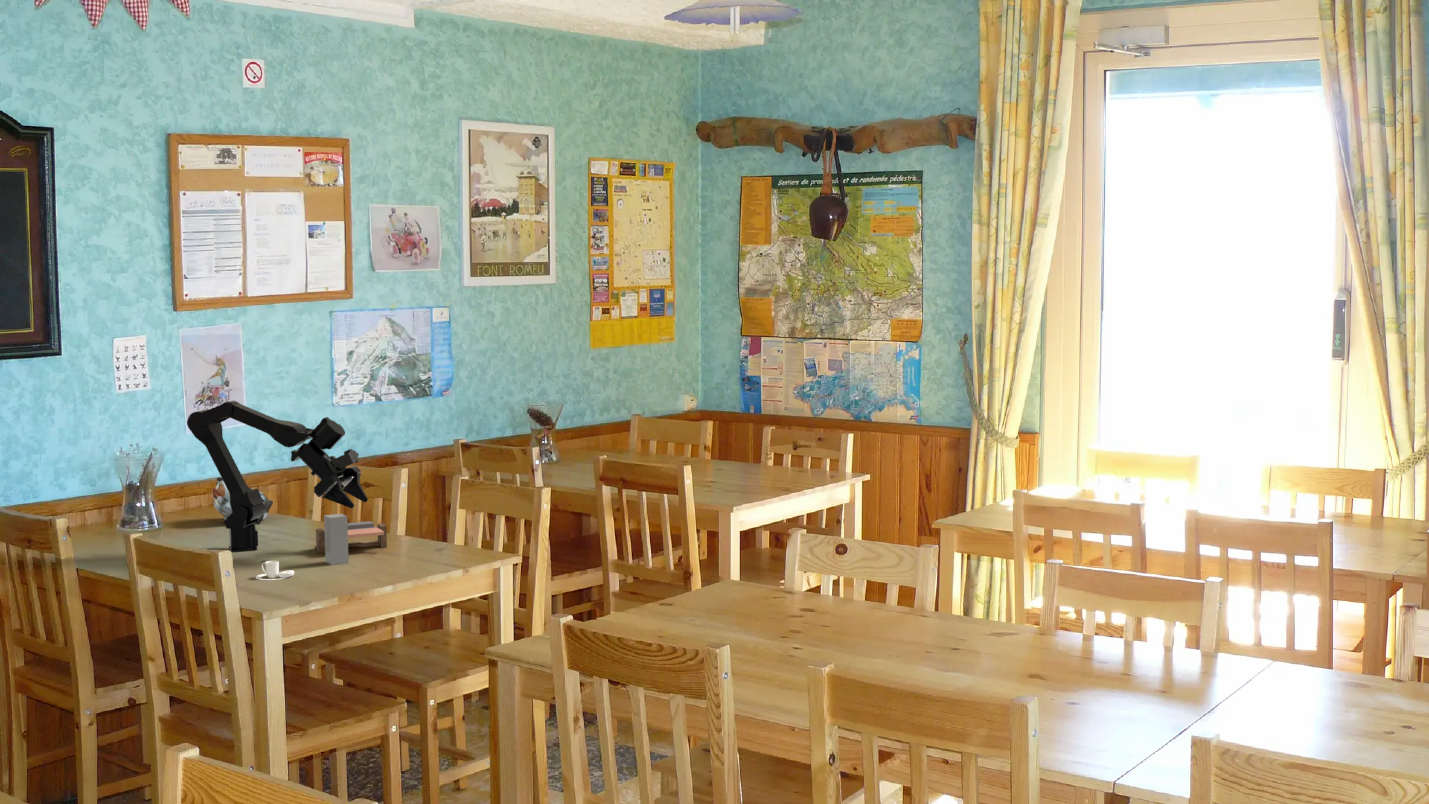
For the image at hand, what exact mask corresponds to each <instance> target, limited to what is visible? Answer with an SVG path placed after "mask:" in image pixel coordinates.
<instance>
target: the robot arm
mask: <svg viewBox="0 0 1429 804" xmlns="http://www.w3.org/2000/svg"><path fill="white" fill-rule="evenodd" d="M228 419H229V420H230V419H232V420H235V421H237V422H239V423H241V424H244V425H246V426H248V427H252V428H254V429H256V430H257V431H258V430H259V431H261V432H263V433H265V434H267V435H269V436H270V437H271V438H272V439H273V440H274V441H275V442H277V443H278V444H280V445H282V446H283V447H285V448H293V447H296V446H299V447H298V448H297V449H294V450H291V452H290V453H291V457H290V461H291V462H295V461H299V460H301V461H302V462H303V463H304V464H305V466H307V467H308V468H309V469H310V471H311V472H310V474H311V475H312V476H313V477H314V476H317V477H318V478H319V481H318V483H317V484H316V485H315V486H314V487H313V493H314V494H315V495H316V496H317V497H318V498H322V499H325V500H328V501H331V502H332V503H333V502H334V503H337V504H340V505H342V506H344V507H346V508H349V509H353V508H354V507H355V504H354V502H353V501H352V500H351V498H350V497H349V496H348V495H350V496H352V497H354V498H355V499H357V500H359V501H361V502H362V503H367V502H368V501H369V499H368V496H367V495H366V493H365V490H364V489H363V487H362V484H361V482H360V480H361V476H362V474H361V473H362V470H361V469H360V468H359V467H358V466H355V465H354V464H357V463H358V462H360V459H359V455H360V454H359V453H358V452H357V451H356V450H353V448H349V449H347V450H344V451H343V455H340V456H338V457H336V456H335V455H328V453H327V452H326V451H325V450H331V449H332V448H334V446H335V445H336V444H337V443H339V442H340V440H341V439H342V438H343V437H344V436H345V435H346V431H345V429H344V427H343V426H342V425H341V424H340V423H337V422H336V421H335V420H332V419H331V418H329V417H328V416H325V417H322V419H321V420H320V421H319V423H318V425H316V426H315V428H307V426H305V425H304V424H302V423H299V422H295V421H289V420H284V419H283V420H282V419H278V418H274V417H273V416H269V415H268V414H265V413H263V412H260V411H258V410H255V409H254V408H251V407H248V406H246V405H244V404H242V403H240V402H238V401H236V400H230V401H229V400H228V401H224V402H223V403H222V404H219V405H217V406H214V407H212V408H209V409H203V410H198V411H194V412H192V413H190V414H189V416H188V418H187V420H186V424H187V428H188V429H189V431H190V432H191V433H192V435H193V437H195V439H196V440H198V441H199V442H200V443H202V444H203V445H204V446H205V449H206V451H207V452H208V455H209V456H210V458H211V460H212V462H213V464H214V466H215V467H216V470H217V471H218V474H219V476H220V478H222V479H223V481H224V483H225V485H226V487H227V489H228V491H229V494H230V506H231V509H232V513H231V514H230V516H229V517H228V518H227V519H226V520H225V519H224V520H223V523H224V526H225V528H226V529H227V530H229V531H228V533H229V545H228V548H229V550H230V551H231V552H232V551H233V552H245V551H255V550H258V546H259V532H258V530H257V529H256V525H258V524H257V523H258V521H259V518H260V517H261V516H262V514H263V512H264V509H265V506H264V504H263V502H265V501H264V500H263V499H262V497H261V495H260V492H261V491H260V490H259V488H254V490H252V489H250V487H249V486H248V484H246V481H245V479H244V478H243V476H242V473H241V471H240V470H239V467H238V466H237V463H236V462H235V460H234V458H233V455H232V454H231V452H230V450H229V448H228V446H227V444H226V442H225V440H224V438H223V436H224V435H223V425H222V423H223V422H224V421H227V420H228ZM307 440H309V442H307V443H306V441H307ZM351 465H353V466H351ZM348 466H349V467H348ZM259 491H260V492H259Z"/></svg>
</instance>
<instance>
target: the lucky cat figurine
mask: <svg viewBox="0 0 1429 804" xmlns="http://www.w3.org/2000/svg"><path fill="white" fill-rule="evenodd" d="M249 488H250V487H249ZM250 489H252V490H254V489H255V488H254V487H251V488H250ZM210 491H211V496H210V497H211V500H212V502H213V507H214V508H215V510H216V512H218V514H221V515H222V516H223V520H224V521H225V520H226V519H227V518H228V517H229V516H230V514H231V513H232V509H231V506H230V494H229V491H228V489H227V487H226V485H225V483H224V481H223V479H222V477H217V478H216V485H215V488H212V489H210ZM259 492H260V495H261V497H262V499H263V500H264V501H265V502H263V504H264V506H265V509H264V512H263V514H262V516H261V517H260V518H259V521H258V523H257V524H256V525H260V524H261V522H263V521H264V520H265V519H266V518H268V516H269V510H270V509H271V508H272V506H273V503H274V502H273V500H272V499H269V498H268V497H267V496H266V495H265V494H264V493H263V492H261V491H260V490H259Z"/></svg>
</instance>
